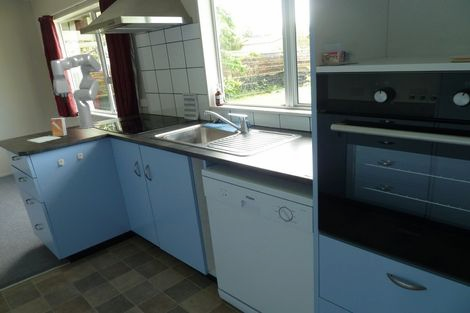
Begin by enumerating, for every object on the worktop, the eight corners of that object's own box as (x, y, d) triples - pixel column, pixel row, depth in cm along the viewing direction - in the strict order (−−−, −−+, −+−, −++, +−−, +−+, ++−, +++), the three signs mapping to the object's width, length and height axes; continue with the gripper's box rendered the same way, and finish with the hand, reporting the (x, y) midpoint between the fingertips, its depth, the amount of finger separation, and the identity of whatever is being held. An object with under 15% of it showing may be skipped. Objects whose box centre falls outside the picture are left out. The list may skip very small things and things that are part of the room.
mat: (49, 136, 258) (49, 135, 258) (60, 137, 247) (60, 137, 247) (27, 141, 246) (26, 140, 246) (38, 143, 235) (37, 142, 235)
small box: (52, 136, 252) (50, 119, 249) (56, 135, 258) (53, 118, 255) (64, 135, 253) (61, 118, 250) (67, 134, 259) (64, 117, 256)
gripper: (67, 76, 259) (71, 100, 264) (47, 78, 247) (52, 103, 252) (71, 76, 254) (76, 101, 259) (51, 78, 243) (57, 103, 248)
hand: (64, 102), depth 256 cm, fingers closed
